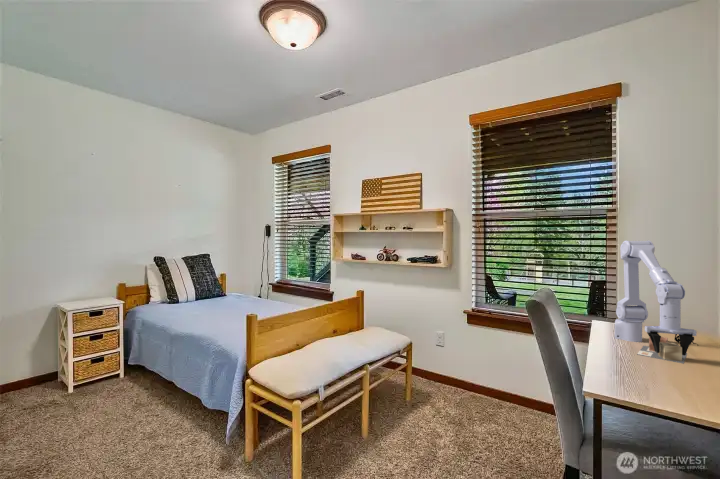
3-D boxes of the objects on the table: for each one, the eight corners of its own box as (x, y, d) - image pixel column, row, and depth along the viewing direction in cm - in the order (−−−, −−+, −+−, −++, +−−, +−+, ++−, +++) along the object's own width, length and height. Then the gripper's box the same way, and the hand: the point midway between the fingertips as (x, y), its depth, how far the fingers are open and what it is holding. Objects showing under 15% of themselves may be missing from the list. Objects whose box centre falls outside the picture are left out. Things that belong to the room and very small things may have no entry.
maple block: (664, 359, 125) (664, 345, 125) (658, 355, 130) (658, 341, 130) (681, 361, 123) (682, 347, 123) (674, 356, 128) (674, 343, 128)
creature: (697, 348, 145) (672, 339, 150) (701, 336, 144) (676, 328, 150) (697, 352, 139) (671, 343, 145) (701, 339, 138) (675, 331, 144)
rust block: (649, 350, 135) (649, 337, 135) (651, 347, 139) (651, 335, 138) (666, 353, 131) (666, 340, 131) (667, 350, 135) (667, 338, 135)
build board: (636, 356, 130) (636, 354, 130) (643, 347, 141) (643, 345, 141) (683, 365, 121) (683, 363, 121) (687, 355, 132) (687, 353, 132)
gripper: (650, 317, 125) (650, 354, 125) (701, 320, 120) (701, 359, 120) (642, 313, 132) (642, 348, 132) (690, 316, 127) (690, 353, 127)
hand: (669, 353), depth 127 cm, fingers open, 7 cm apart
